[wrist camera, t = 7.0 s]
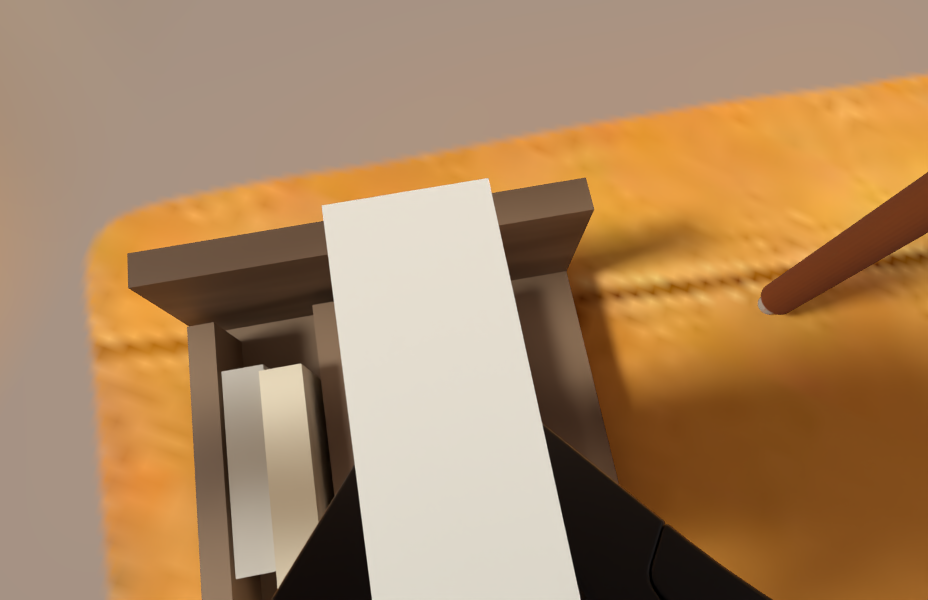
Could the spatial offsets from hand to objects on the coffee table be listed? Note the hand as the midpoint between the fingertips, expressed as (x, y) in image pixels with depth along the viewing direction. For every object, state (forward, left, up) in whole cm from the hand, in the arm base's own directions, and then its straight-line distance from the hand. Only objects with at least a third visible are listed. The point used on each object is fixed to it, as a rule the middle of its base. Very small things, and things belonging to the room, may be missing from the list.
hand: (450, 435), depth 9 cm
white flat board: (-1, -1, -7) cm, 7 cm away
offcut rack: (+1, +2, -13) cm, 13 cm away
